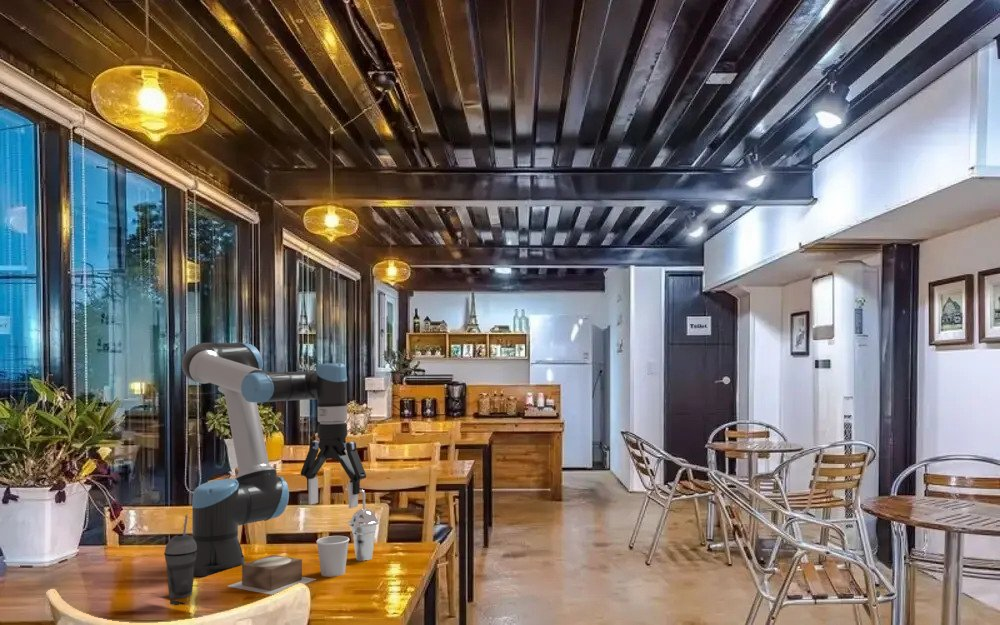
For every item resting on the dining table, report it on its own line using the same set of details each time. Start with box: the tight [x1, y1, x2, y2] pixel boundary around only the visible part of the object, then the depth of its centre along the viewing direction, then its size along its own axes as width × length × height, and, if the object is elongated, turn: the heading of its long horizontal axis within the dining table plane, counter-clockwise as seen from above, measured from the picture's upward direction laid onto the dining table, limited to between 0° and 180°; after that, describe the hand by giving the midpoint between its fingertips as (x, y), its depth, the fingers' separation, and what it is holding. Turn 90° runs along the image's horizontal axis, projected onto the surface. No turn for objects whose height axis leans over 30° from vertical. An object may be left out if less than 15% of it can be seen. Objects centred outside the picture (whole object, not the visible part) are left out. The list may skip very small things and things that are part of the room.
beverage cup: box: [164, 514, 198, 606], centre depth 175 cm, size 7×7×20 cm
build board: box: [227, 576, 317, 596], centre depth 183 cm, size 16×14×2 cm
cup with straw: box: [344, 487, 380, 562], centre depth 210 cm, size 8×9×20 cm
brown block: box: [241, 554, 303, 591], centre depth 183 cm, size 10×10×5 cm
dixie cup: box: [315, 535, 350, 578], centre depth 191 cm, size 8×8×10 cm
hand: (333, 505), depth 191 cm, fingers open, 13 cm apart
